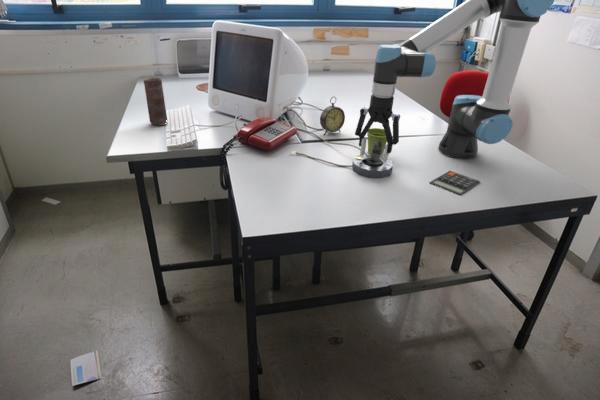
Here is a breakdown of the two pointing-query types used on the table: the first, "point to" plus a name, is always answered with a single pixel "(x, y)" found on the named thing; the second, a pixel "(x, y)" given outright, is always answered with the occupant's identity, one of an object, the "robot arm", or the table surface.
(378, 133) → the plant pot
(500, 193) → the table surface
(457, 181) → the calculator
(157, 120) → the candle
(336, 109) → the alarm clock
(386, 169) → the ring
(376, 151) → the dark stone statuette
